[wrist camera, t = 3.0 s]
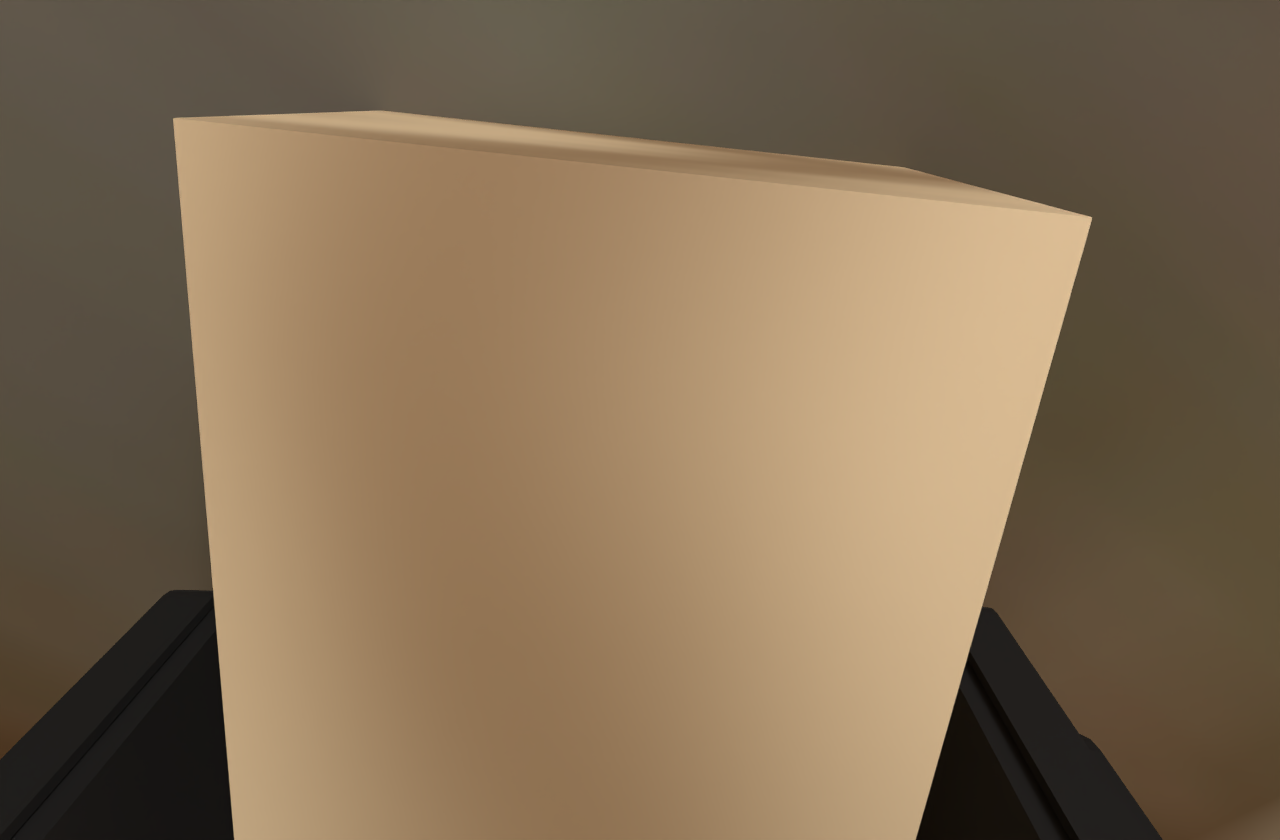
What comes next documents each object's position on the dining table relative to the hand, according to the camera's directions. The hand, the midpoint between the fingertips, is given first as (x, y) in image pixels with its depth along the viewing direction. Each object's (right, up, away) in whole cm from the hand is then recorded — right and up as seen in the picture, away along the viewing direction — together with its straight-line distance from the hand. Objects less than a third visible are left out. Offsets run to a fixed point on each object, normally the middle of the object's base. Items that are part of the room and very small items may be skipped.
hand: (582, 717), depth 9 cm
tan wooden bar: (0, 0, +1) cm, 1 cm away
